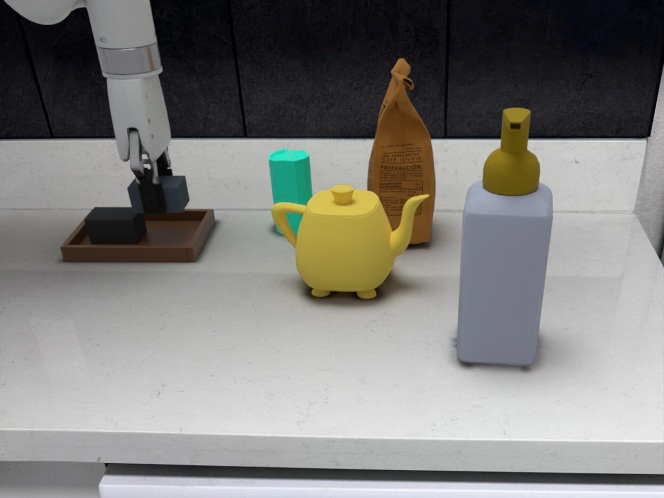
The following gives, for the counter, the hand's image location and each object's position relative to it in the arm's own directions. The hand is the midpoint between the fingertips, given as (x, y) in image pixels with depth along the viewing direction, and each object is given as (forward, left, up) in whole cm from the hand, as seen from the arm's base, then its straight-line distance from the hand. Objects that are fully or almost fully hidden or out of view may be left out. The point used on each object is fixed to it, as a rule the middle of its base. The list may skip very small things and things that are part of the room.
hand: (160, 203), depth 112 cm
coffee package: (+34, +3, -6) cm, 35 cm away
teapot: (+28, -14, -6) cm, 32 cm away
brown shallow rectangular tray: (-4, 0, -5) cm, 7 cm away
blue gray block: (0, 0, 0) cm, 0 cm away
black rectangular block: (-7, 0, -5) cm, 9 cm away
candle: (+18, +5, -6) cm, 20 cm away
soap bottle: (+46, -31, -6) cm, 56 cm away
